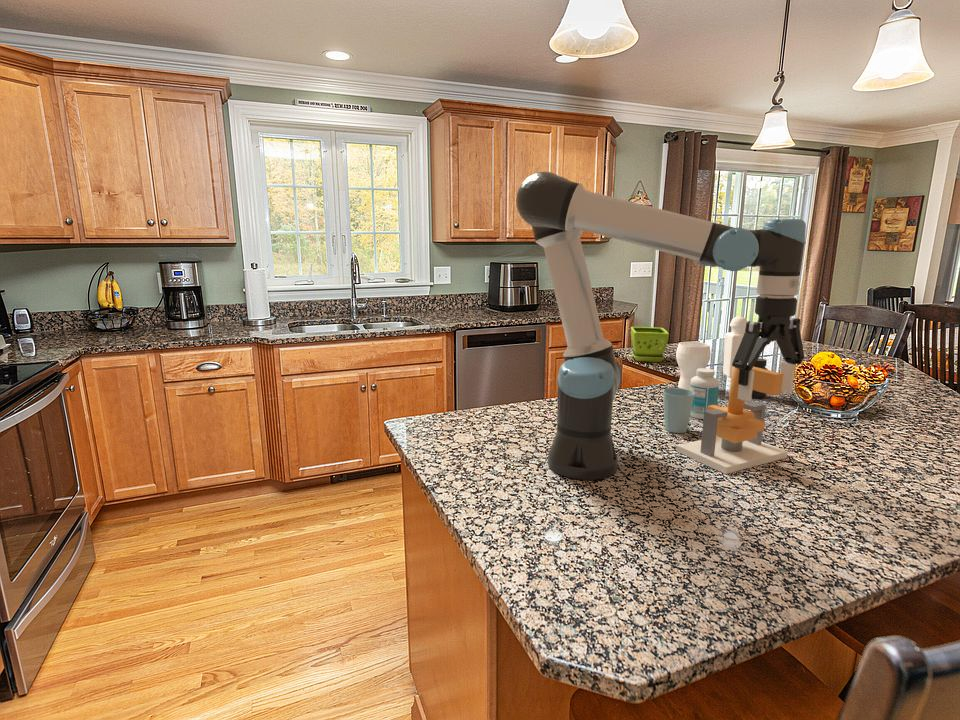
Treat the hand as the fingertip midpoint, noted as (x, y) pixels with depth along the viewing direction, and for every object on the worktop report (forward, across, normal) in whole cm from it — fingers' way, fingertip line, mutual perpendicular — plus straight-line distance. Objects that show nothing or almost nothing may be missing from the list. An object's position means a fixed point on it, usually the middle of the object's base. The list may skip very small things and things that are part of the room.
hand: (764, 396), depth 115 cm
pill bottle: (+16, +16, +30) cm, 38 cm away
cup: (+16, +1, +25) cm, 30 cm away
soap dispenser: (+16, +63, +58) cm, 87 cm away
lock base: (+16, 0, +7) cm, 17 cm away
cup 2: (+16, +36, +53) cm, 66 cm away
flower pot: (+16, +54, +93) cm, 109 cm away
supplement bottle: (+16, +47, +37) cm, 62 cm away
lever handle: (+11, 0, +5) cm, 13 cm away
